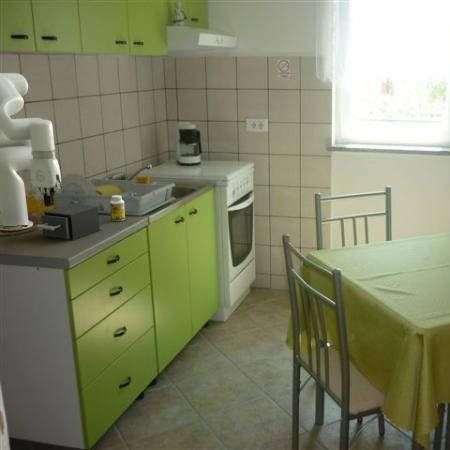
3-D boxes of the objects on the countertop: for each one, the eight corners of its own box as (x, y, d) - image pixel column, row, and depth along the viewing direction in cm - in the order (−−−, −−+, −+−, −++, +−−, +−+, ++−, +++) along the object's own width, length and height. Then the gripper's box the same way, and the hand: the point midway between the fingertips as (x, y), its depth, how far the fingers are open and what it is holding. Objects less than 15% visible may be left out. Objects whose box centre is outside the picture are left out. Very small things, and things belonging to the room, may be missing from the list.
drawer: (57, 242, 210) (55, 221, 208) (33, 238, 214) (31, 218, 212) (92, 230, 226) (90, 210, 224) (69, 226, 230) (67, 207, 228)
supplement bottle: (108, 220, 243) (106, 196, 241) (118, 217, 248) (116, 194, 245) (118, 222, 241) (116, 198, 238) (128, 219, 245) (126, 195, 243)
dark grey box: (73, 240, 216) (70, 214, 214) (46, 236, 220) (43, 211, 218) (99, 230, 229) (97, 206, 227) (74, 226, 234) (71, 203, 231)
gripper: (19, 155, 206) (25, 206, 211) (52, 157, 201) (58, 209, 205) (35, 152, 213) (41, 202, 217) (68, 154, 207) (73, 205, 212)
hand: (49, 205), depth 211 cm, fingers closed
